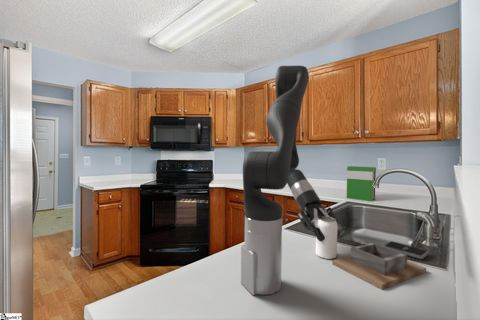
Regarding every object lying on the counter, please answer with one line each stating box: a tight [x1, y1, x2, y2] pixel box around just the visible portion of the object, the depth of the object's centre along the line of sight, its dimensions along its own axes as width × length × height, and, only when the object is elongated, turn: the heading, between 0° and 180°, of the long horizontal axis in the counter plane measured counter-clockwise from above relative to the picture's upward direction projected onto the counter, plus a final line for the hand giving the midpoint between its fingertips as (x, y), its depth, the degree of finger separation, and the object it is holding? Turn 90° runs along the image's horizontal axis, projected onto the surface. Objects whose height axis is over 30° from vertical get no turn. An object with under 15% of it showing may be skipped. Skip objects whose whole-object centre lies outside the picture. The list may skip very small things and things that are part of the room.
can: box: [315, 216, 338, 260], centre depth 79 cm, size 6×6×12 cm
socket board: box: [332, 242, 427, 290], centre depth 70 cm, size 20×15×5 cm
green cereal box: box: [346, 166, 377, 202], centre depth 181 cm, size 18×7×24 cm, turn 47°
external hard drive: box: [383, 241, 429, 261], centre depth 82 cm, size 7×11×2 cm, turn 39°
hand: (330, 238), depth 77 cm, fingers closed on can, 6 cm apart
